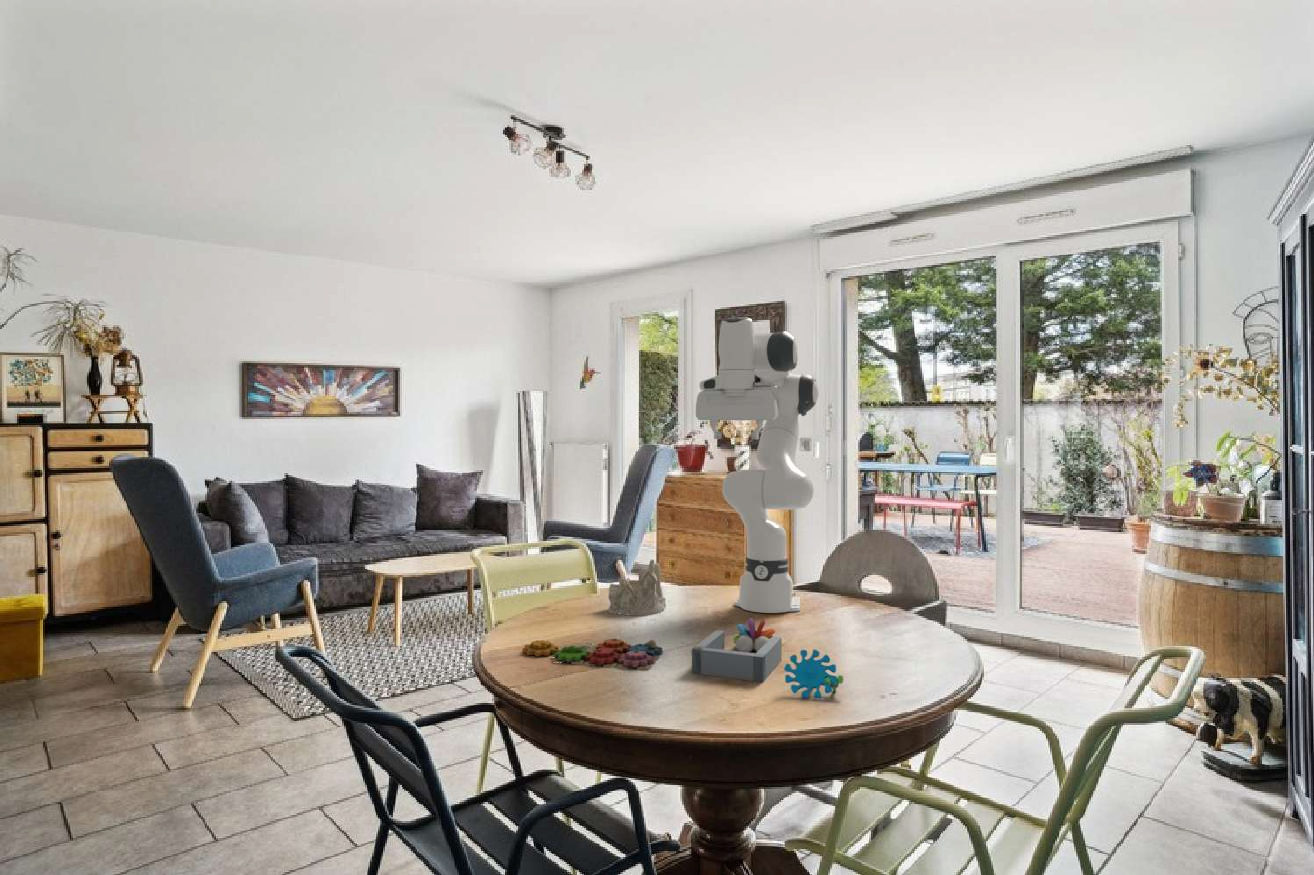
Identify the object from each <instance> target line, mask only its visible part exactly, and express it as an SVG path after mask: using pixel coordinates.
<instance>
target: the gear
mask: <svg viewBox="0 0 1314 875" xmlns="http://www.w3.org/2000/svg"><path fill="white" fill-rule="evenodd" d="M800 656H801V661H800V662H798V656H797V655H796V654H792V655H791V656H789V660H790V662H791V663H792V664H794V666H795V669H794V668H792V666H791V664H790V663H786V664H785V666H784V671H785V672H787V673H791V674H793V675H794V677H792V676H791V675H790V674H785V677H784V680H785V683H786V684H790V683H792V682H793V683H798V685H797V684H792V685H790V690H791V692H792V693H793V694H796V693H797V692H798V691H799V690H801V689H804V688H806V689H805V690H802V691H801V694H800V695H801V697H802V698H804V699H805V698H808V699H809V696H810V692H811V691H812V690H813V689H816V690H815V692H813V695H814V696H813V697H814V699H817V698H819V699H822V693H821V689H820V688H821V686H824V693H825V694H830V693H831V692H832V693H833V691H836V692H837V688H838V687H839V686H840V685H841V684H844V676H843V675H837V676H836V675H833V674H832V675H831V674H830V673H828V672H827V671H828V670H829V671H830V672H831V673H837V664H835V663H833V664H830V665H826V664H829V663H830V662H831V658H830V656H829V655H828V654H824V655H823V657H821V658H819V659H815V658H818V657H820V651H818V650H817V649H812V654H811V656H809V658H807V659H806V657H807V656H808V650H806V649H801V650H800ZM822 663H826V664H825V665H824V664H822ZM832 690H833V691H832Z"/></svg>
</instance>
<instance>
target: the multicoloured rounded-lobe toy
mask: <svg viewBox="0 0 1314 875" xmlns="http://www.w3.org/2000/svg"><path fill="white" fill-rule="evenodd" d="M765 624H766V620H765V619H761V621H760V622H759V624H758V627H757V629H756V625H755V621H754V619H753V618H748V628H747V627H746V626H745V625H744V624H741V623H738V625H737V630H738V635H734V637H733V640H732V641H733V643H734V644H735V647H736V650H737V651H739V652H748V653H752V651H753V649H754V650H755V651H756V653H757V652H758V651H759V650H760V649H761V648H762V647H763V646H764V645H765V644H766V643H767V642H768V641H769V640H770V639H771V638H772V637H774V636H773V635H774V634H775V633H776V630H775V629H774V628H769V629H766V630H763V629H764V627H765Z"/></svg>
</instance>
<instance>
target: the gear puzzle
mask: <svg viewBox="0 0 1314 875" xmlns="http://www.w3.org/2000/svg"><path fill="white" fill-rule="evenodd" d="M585 643H586V644H585ZM585 643H573V644H571V645H565V646H563V647H562V648H561V649H559V646H558V645H554V643H552V642H550V641H549V640H544V639H541V640H535V641H531V643H530V644H526V645H524V647H523V648H522V653H526V655H527V656H533V655H534V656H535V657H540V656H546V655H549V656H550V653H555V654H552V655H551V656H550V657H555V658H554V659H551V662H552V661H553V662H559V663H560V662H561V663H564V662H563V661H567V662H566V663H569V662H572V663H571V665H572V664H576V665H575V666H585V665H593V666H592V667H595V666H603V668H608V667H615V668H616V667H617V668H616V669H620V668H622V669H621V670H628V667H629V668H631V667H633V669H636V670H637V671H650V670H651V669H652V665H655V664H656V662H657V661H658V660H659V659H660V656H661V655H663V654H664V650H663V647H660V646H658V645H657V642H656V640H654V639H649V640H648V641H647V642H644V643H643V644H642V643H637V644H635V645H631V644H630V643H629V644H628V643H627V642H625V641H624V640H622V639H618V638H609V639H605V640H604V641H603V642H602V643H601V642H600V643H598V644H594V645H592V643H593V642H585ZM659 655H660V656H659ZM559 663H558V664H559ZM583 664H584V665H583ZM594 665H595V666H594Z"/></svg>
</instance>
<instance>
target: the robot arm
mask: <svg viewBox="0 0 1314 875" xmlns="http://www.w3.org/2000/svg"><path fill="white" fill-rule="evenodd" d="M719 329H720V330H719V336H718V338H719V339H718V357H719V367H718V374H717V375H716V376H713V377H709V378H707V379H704V380H701V381H700V382H699V389H700V390H701V391H700V392H698V395H697V396H696V403H695V417H696V419H697V420H698V421H709V426H710V428H711V430H712V432H713V440H722V439H723V438H722V437H723V436H722V434H723V433H722V431H719V429H718V428H717V425H718V424H719V422H718V421H755V426H756V428H755V430H754V431H751V432H750V435H751V437H750V439H751V440H759V441H758V442H759V443H758V445H757V449H756V454H755V455H756V460H757V463H758V464H759V465H760V466H761V468H763V469H741V470H740V469H739V470H736V471H730V472H729V473H728V474H726V476H725V477H724V480H723V481H722V485H721V486H722V487H721V488H722V490H721V492H722V495H723V498H724V500H725V501H726V503H727V504H728V505H730V507H732V508H733V509H734V510H735V511H736V513H737V514H738V515H739V517H740V519H741V521H742V523H743V525H744V528H745V535H746V557H745V561H744V565H745V568H744V570H745V572H744V573H743V574H742V576H740V579H739V597H738V599H737V600H734V601H733V603H734V604H733V605H734V606H736V607H740V608H741V609H742V610H745V611H748V612H754V613H763V614H781V613H789V612H799V611H801V597H800V596H798V595H796V592H794V589H793V588H794V586H793V585H794V582H793V579H792V577H791V575H790V573H789V572H788V571H789V570H790V569H789V557H788V556H787V543H788V542H787V541H788V540H787V533H786V532H787V531H786V529H785V528H784V527H783V526H782V525H781V524H779V523H778V522H776V521H774V520H772V519H771V518H770V517H769V516H768V514H767V510H782V511H784V510H785V511H790V510H799V509H802V508H803V509H804V508H806V507H807V506H808V505H810V503H811V501H812V499H813V495H814V485H813V482H812V480H811V478H810V476H808V475H807V473H804V472H803V471H801V470H800V468H798V466H797V465H796V461H795V460H796V452H797V446H798V441H799V435H800V434H799V431H800V428H799V427H800V425H799V415H800V416H802V417H805V416H806V415H807V412H809V411H811V410H812V409H813V408H814V407H815V405H816V403H817V400H818V398H819V386H818V383H817V379H816V378H815V377H814V376H813V375H809V374H806V373H802V374H792V372H793V370H795V369H796V367H797V366H798V345H797V343H796V342H797V341H796V339H795V337H794V336H793V335H792V334H791V333H789V331H778V332H768V333H767V332H766V333H765V332H764V333H762V332H761V333H754V332H755V331H754V324H753V320H752V318H750V317H747V316H745V317H744V316H742V317H738V316H737V317H728V318H724V319H723V320H722V321H721V325H720V328H719ZM764 421H765V422H764ZM761 430H762V431H761ZM760 432H761V434H760ZM759 437H760V438H759Z"/></svg>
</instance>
